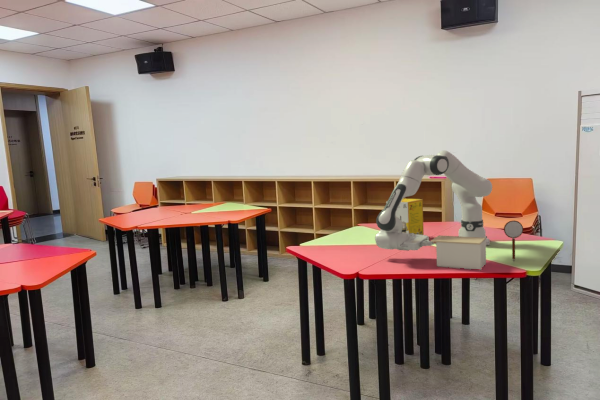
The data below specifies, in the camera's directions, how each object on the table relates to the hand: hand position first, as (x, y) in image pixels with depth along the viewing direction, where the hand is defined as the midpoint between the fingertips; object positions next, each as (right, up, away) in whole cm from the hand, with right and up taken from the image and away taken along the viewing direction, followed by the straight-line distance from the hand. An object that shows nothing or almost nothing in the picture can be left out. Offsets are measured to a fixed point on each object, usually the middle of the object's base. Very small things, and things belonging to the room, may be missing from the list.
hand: (432, 243), depth 221 cm
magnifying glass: (+38, -8, -5) cm, 40 cm away
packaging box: (+2, -3, +64) cm, 64 cm away
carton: (+12, -10, -7) cm, 17 cm away
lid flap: (+10, +2, -7) cm, 13 cm away
